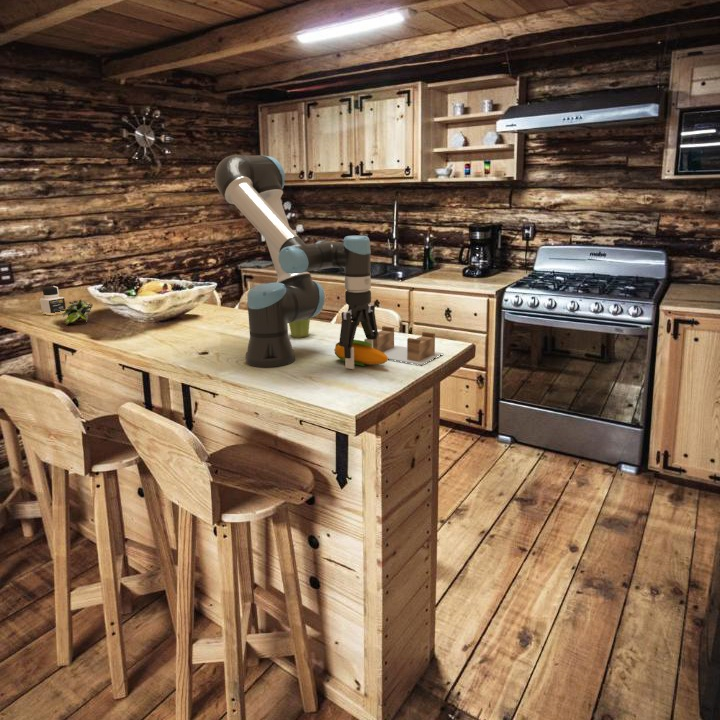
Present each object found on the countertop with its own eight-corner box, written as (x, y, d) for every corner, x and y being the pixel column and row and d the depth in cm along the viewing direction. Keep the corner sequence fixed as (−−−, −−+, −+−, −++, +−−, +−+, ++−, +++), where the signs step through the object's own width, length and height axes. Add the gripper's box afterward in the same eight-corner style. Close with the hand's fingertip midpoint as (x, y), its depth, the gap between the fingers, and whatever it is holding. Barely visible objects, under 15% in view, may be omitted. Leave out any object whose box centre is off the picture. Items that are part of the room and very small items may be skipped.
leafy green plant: (78, 334, 250) (87, 307, 254) (95, 332, 244) (103, 305, 248) (54, 323, 241) (62, 296, 245) (70, 321, 235) (79, 293, 239)
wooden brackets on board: (418, 363, 182) (418, 340, 180) (366, 354, 193) (366, 332, 191) (434, 355, 190) (435, 333, 188) (383, 347, 201) (383, 326, 199)
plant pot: (308, 339, 213) (307, 315, 210) (283, 338, 215) (281, 314, 212) (315, 333, 222) (315, 309, 219) (291, 332, 223) (290, 309, 221)
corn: (343, 332, 189) (395, 342, 177) (345, 355, 192) (396, 366, 180) (327, 339, 184) (380, 349, 172) (329, 362, 187) (381, 374, 174)
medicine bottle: (51, 316, 259) (46, 288, 256) (42, 314, 263) (37, 287, 259) (66, 313, 265) (62, 286, 261) (57, 311, 268) (53, 284, 265)
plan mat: (421, 366, 180) (421, 364, 180) (358, 354, 193) (358, 353, 192) (443, 355, 191) (443, 353, 191) (382, 345, 204) (382, 343, 203)
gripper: (345, 297, 165) (348, 375, 172) (389, 285, 182) (389, 357, 189) (324, 294, 169) (327, 371, 176) (368, 283, 187) (369, 353, 193)
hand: (359, 364), depth 182 cm, fingers open, 9 cm apart
